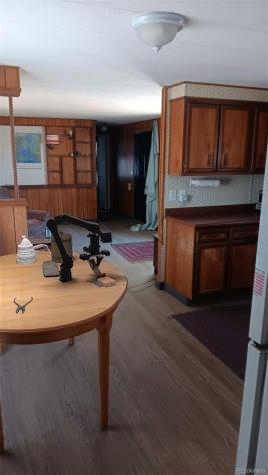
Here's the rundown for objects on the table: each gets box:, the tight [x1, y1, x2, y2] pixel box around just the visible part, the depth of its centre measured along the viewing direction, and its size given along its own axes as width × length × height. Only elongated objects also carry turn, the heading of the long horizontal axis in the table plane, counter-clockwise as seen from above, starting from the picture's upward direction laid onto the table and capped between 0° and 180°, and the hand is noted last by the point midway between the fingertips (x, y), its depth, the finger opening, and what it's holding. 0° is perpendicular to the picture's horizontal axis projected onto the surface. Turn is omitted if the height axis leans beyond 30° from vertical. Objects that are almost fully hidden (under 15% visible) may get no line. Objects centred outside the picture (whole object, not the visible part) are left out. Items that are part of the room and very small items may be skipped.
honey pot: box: [16, 235, 37, 265], centre depth 244 cm, size 13×13×18 cm
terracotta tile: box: [97, 276, 116, 288], centre depth 203 cm, size 7×2×9 cm
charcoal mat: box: [90, 280, 105, 288], centre depth 204 cm, size 11×11×1 cm
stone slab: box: [42, 260, 60, 278], centre depth 228 cm, size 10×3×30 cm
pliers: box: [13, 296, 34, 314], centre depth 175 cm, size 10×1×20 cm
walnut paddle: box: [86, 260, 107, 281], centre depth 212 cm, size 16×6×5 cm
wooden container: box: [50, 229, 74, 264], centre depth 247 cm, size 15×15×22 cm
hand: (95, 268), depth 212 cm, fingers closed on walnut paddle, 2 cm apart
